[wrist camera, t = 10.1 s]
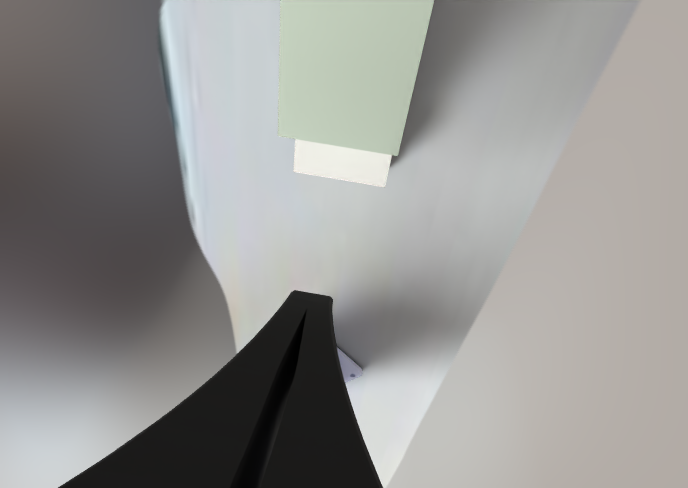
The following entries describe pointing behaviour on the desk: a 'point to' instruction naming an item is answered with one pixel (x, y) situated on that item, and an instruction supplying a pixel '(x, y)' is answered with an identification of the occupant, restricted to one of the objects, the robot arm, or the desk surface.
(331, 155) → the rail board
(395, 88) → the sage module
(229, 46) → the desk surface
